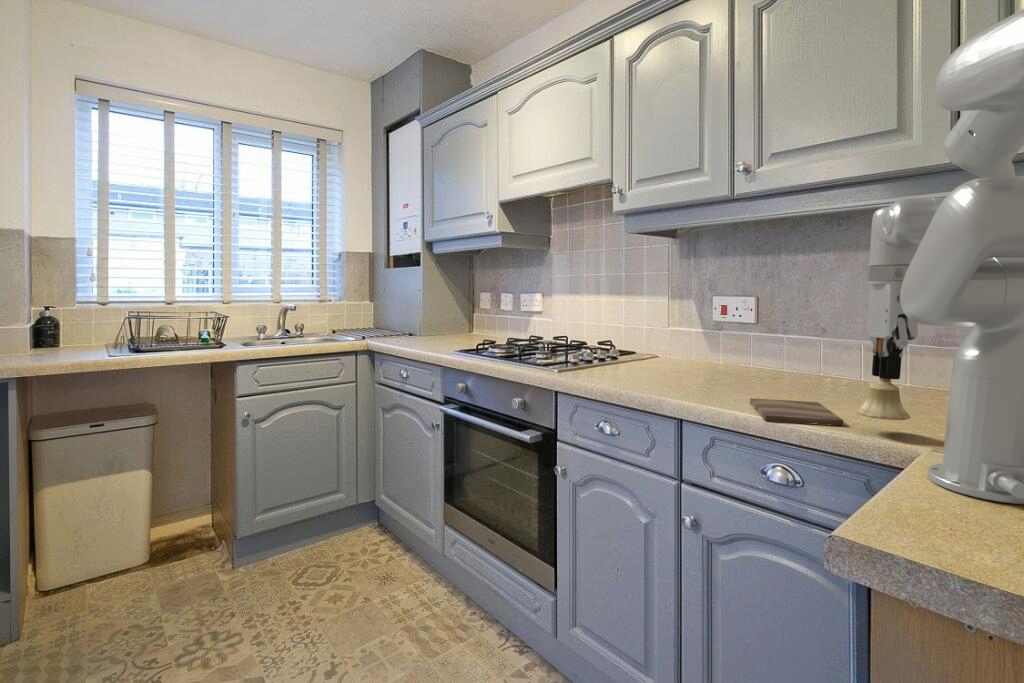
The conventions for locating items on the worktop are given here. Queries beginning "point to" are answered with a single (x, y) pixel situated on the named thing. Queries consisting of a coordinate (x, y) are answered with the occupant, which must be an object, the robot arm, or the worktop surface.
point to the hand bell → (883, 399)
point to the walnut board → (794, 412)
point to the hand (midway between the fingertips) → (885, 376)
